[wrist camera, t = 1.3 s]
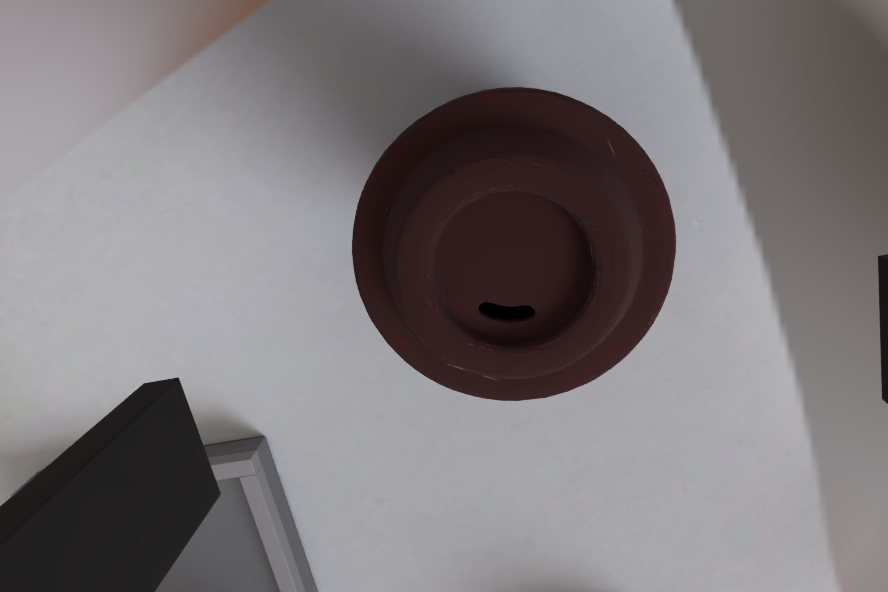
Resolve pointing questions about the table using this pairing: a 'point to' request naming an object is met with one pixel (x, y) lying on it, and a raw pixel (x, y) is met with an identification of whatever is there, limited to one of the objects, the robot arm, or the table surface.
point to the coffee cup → (513, 244)
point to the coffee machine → (242, 530)
